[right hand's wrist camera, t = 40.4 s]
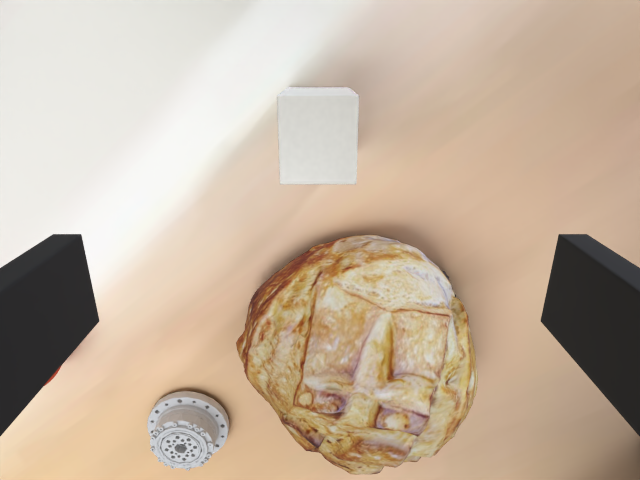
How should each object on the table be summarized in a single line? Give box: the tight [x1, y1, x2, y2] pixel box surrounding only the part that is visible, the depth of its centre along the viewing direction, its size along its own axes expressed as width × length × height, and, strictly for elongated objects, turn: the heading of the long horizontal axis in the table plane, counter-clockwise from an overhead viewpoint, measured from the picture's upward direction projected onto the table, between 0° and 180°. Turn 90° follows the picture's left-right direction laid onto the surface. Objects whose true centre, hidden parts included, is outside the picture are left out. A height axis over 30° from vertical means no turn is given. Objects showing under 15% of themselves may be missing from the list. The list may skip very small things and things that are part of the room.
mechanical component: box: [147, 391, 229, 470], centre depth 55 cm, size 10×4×10 cm
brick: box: [277, 87, 359, 184], centre depth 38 cm, size 6×6×11 cm
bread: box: [236, 235, 478, 475], centre depth 46 cm, size 25×27×15 cm
